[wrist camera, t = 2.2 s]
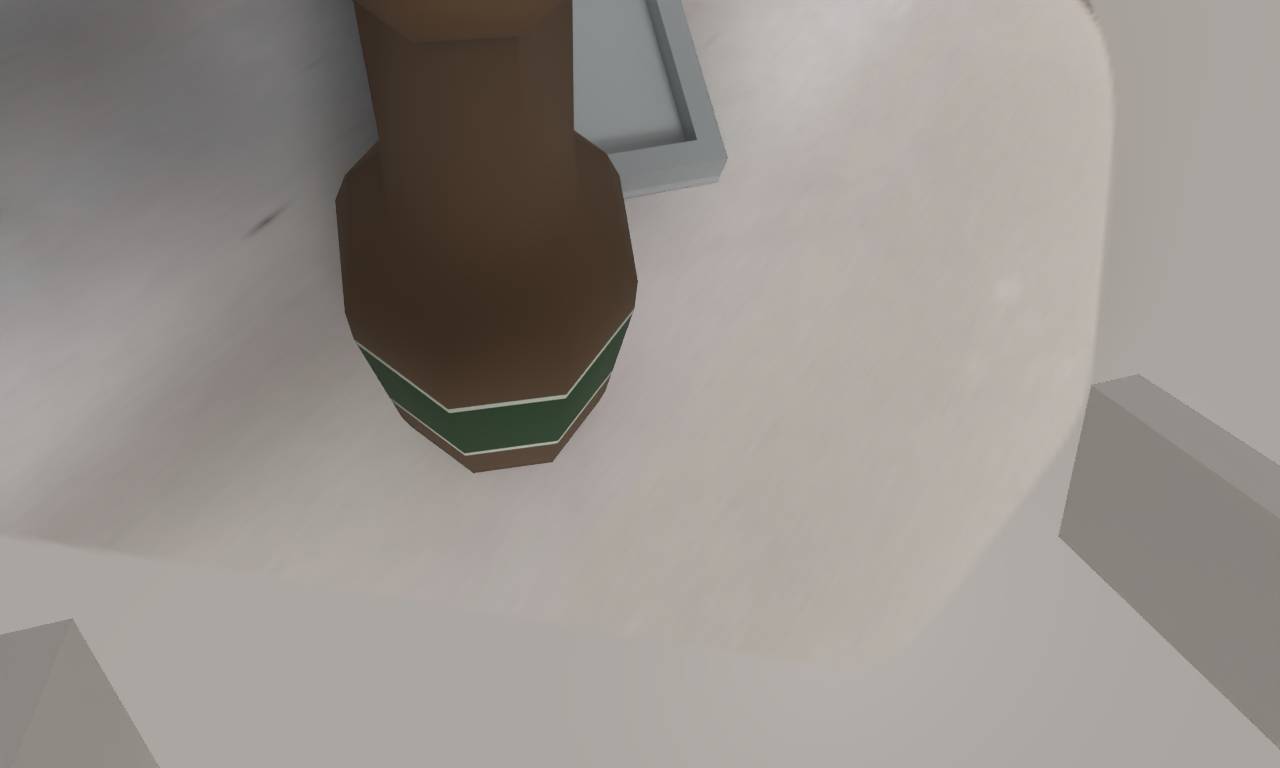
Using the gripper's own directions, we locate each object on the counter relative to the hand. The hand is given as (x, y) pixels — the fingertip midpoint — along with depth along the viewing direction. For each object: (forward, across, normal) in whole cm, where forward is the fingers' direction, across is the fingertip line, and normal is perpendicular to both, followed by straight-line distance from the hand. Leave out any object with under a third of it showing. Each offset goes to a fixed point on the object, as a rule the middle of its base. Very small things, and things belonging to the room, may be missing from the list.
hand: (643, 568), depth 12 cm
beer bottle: (+21, -1, -9) cm, 23 cm away
